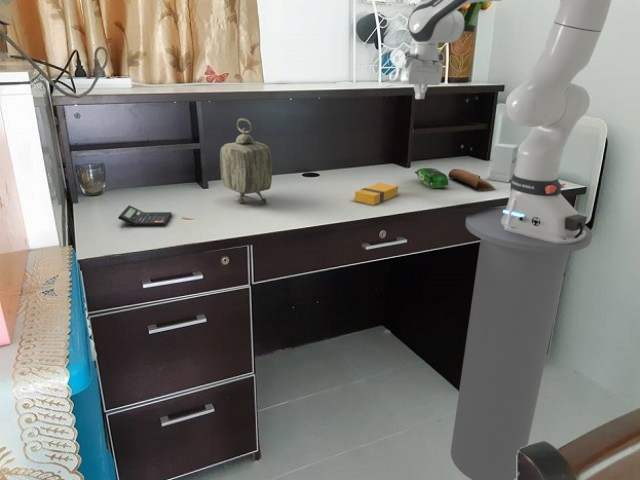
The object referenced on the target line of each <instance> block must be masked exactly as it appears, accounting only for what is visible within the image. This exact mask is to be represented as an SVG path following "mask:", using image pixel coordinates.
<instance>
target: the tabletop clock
mask: <svg viewBox="0 0 640 480" xmlns="http://www.w3.org/2000/svg"><path fill="white" fill-rule="evenodd" d="M241 121H242V122H243V121H244V122H247V123H248V125H249V128H250V129H249V130H247V128H246V127H243V128H242V129H241V128H240V126H239V124H240V122H241ZM236 128H237V130H238V131H239V132H240V133H241V134H239V135H238V136H237V137H236V139H235V142H229V143H225V144H224V145H223V146H222V147H221V148H220V150H219V169H220V179H221V184H222V185H223V186H224V187H225V188H226V189H229V190H232V191H234V192H237V193H238V194H239V196H240V197H239V198H238V199H237V201H238V203H240V204H243V203H244V201H245V200H244V198H243V197H245V195H250V194H254V193H255V194H257V195H258V196H259V198H260V199H261V203H262V204H266V203H267V198H265V197H263V195H262V193H261V192H263V191H268V190H270V189H271V187H272V181H273V161H272V154H271V150H270V147H269V146H268V145H266V144H264V143H262V142H259V141H254V138H253V137H252V135H250V133H251V132H252V130H253V125H252V122H251V121H250V120H249V119H247V118H245V117H240V118H238V119H237V121H236Z"/></svg>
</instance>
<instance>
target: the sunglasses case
mask: <svg viewBox="0 0 640 480" xmlns="http://www.w3.org/2000/svg"><path fill="white" fill-rule="evenodd" d="M447 178H449V179H452V180H453V179H454V180H458V181H459V182H461V183H465V184H466V185H468V186H471V187H473V188H474V189H476V190H477V192H478V191H479V192H481V191H482V192H487V191H493V190H496V188H495V186H493V185H492V184H491V183H490V182H488V181H486V180H485V179H483V178H481V176H480V175H478V174H475V173H473V172H470V171H468V170H464V169H460V168H453V169H451V170H450V171H449V172H448V175H447Z"/></svg>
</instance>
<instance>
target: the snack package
mask: <svg viewBox="0 0 640 480" xmlns="http://www.w3.org/2000/svg"><path fill="white" fill-rule="evenodd" d="M414 173H415V174H416V175H417V178H418V180H419V181H420V182H421V183H422V184H423V185H425V186H426V187H428V188H431V189H444V188H445V187H446V186H448V185H449V179H448V178H449V177H448V175H447V174H445V173H444V172H442V171H440V170H439V169H437V168H434V167H422V168H419V169H417V170H416V171H414Z"/></svg>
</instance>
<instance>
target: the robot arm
mask: <svg viewBox="0 0 640 480" xmlns="http://www.w3.org/2000/svg"><path fill="white" fill-rule="evenodd" d="M501 1H502V0H420V1H419V2H417V3H416V5H415V7H414V9H413V11H412V12H411V13H410V15H409V18H408V22H407V29H408V32H409V34H410V36H411V41H410V47H409V53H407V55H406V56H405V57H404V61H403V62H402V65H401V72H400V78H399V79H400V83H401V84H402V85H413V91H414V93H415V94H414V98H415V100H425V96H426V95H425V94H426V92H427V90H428V86H440V84H441V82H442V78H443V70H444V69H443V67H444V66H443V63H444V62H445V55H444V54H443V53H442V52H441V51H440V49H439V43H442V44H443V43H444V44H451V43H456V42H457V41H459V40H460V39H461V37H462V36H463V34H464V32H465V27H466V20H465V16H464V14H463V13H462V12H461V11H459V9H461V8H463V7H464V6H466V5H469V4H474V3H475V4H476V3H482V2H501ZM611 3H612V0H560V1H559V7H558V10H557V12H556V15H555V18H554V21H553V23H552V26H551V29H550V31H549V34H548V37H547V40H546V42H545V45H544V47H543V50H542V53H541V54H540V56H539V58H538V60H537V62H536V63H535V65H534V67H532V69H531V71H530V72H529V73H528V75H527V76H526V77H525V78H524V80H523V81H522V83H520V84H519V85H518V86H516V87H515V88H514V89H513V90H512V91H511V92H510V93H509V94H508V96H507V98H506V101H505V104H504V105H505V107H504V108H505V114H506V117H507V119H508V120H509V121H510V123H512V124H514V125H518V126H522V127H527V128H531V130H530V132H529V134H528V136H526V138H525V139H524V140H523V141H522V142H521V143H520V145H519V146H518V152H517V158H516V165H515V171H514V174H513V175H512V179H511V180H510V187H509V188H510V194H509V197H508V201H507V204H506V210H503V213H504V215H503V217H502V219H501V224H502V225H503V226H504V230H506V231H510V232H513V233H517V234H521V235H525V236H529V237H533V238H537V239H540V240H544V241H548V242H552V243H556V244H568V243H574V242H577V241H580V240H582V239H584V238H585V237H586V231H584V230H583V228H585V226H586V223H587V219H588V216H585V215H583V214H579V213H578V211H577V209H575V208H574V207H573V205H571V203H570V202H569V201H568V200H567V199H566V198H565V197H564V196H563V194H562V189H565V188H566V183H560V181H559V178H558V176H559V170H560V166H561V161H562V157H563V153H564V149H565V147H566V144H567V142H568V140H569V138H570V136H571V134H572V132H573V130H574V128H575V126H576V125H577V124H578V122H579V121H580V120H581V119H582V118H583V117H584V116H585V115H586V114H587V112H588V110H589V108H590V102H591V101H590V95H589V92H588V90H587V89H585V88H584V87H583V86H580V85H578V84H575V83H572V81H573V80H574V78H575V77H576V76H577V75H578V74H579V73H580V72H581V71H583V70H584V69H585V68H586V67H587V66H588V64H589V63H590V61H591V58H592V57H593V53H594V51H595V48H596V46H597V43H598V42H599V38H600V36H601V34H602V31H603V29H604V26H605V23H606V21H607V18H608V15H609V11H610V7H611Z"/></svg>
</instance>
